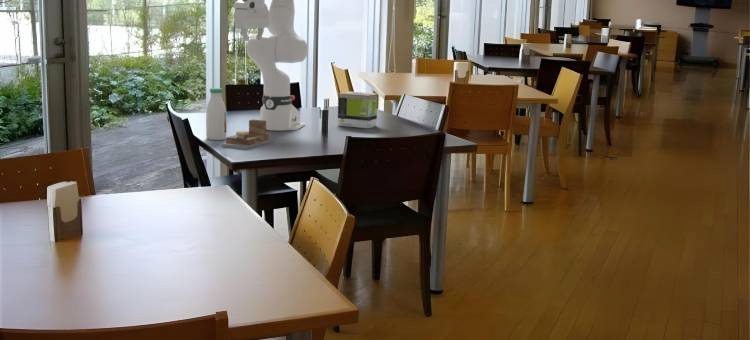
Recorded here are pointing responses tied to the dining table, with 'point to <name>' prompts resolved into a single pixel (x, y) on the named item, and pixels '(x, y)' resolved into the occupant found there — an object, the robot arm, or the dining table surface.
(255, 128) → the wooden stepped block
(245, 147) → the boss board
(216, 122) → the milk bottle
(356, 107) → the tea box
